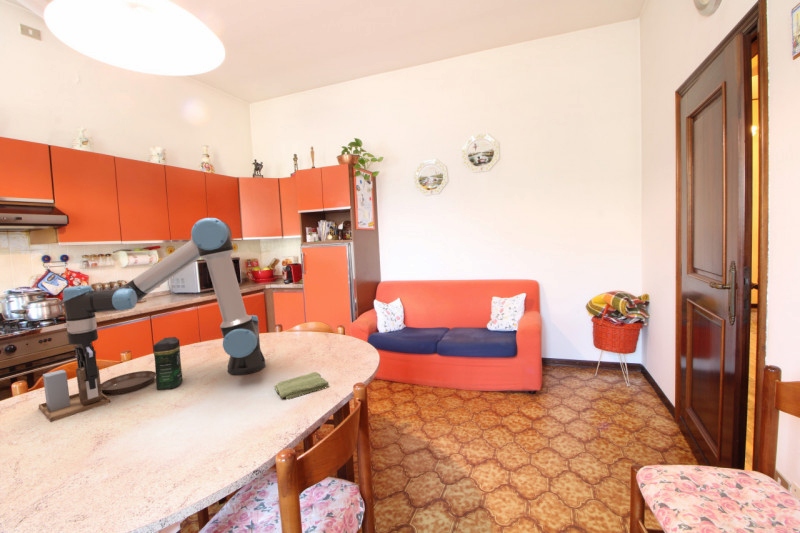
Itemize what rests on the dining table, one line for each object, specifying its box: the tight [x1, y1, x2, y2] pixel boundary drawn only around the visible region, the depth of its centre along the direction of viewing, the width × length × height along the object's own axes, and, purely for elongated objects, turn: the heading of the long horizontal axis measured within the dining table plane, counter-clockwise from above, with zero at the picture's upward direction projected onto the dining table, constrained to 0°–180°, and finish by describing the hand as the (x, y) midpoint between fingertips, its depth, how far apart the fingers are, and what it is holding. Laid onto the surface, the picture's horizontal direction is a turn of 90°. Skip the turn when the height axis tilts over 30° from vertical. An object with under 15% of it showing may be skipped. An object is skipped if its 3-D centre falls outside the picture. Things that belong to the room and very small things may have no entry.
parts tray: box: [38, 392, 112, 423], centre depth 120 cm, size 17×15×2 cm
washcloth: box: [274, 371, 329, 400], centre depth 128 cm, size 13×18×3 cm
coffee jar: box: [152, 336, 183, 391], centre depth 134 cm, size 10×8×19 cm
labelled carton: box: [75, 365, 103, 405], centre depth 121 cm, size 4×5×12 cm
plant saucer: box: [101, 370, 156, 395], centre depth 135 cm, size 18×18×3 cm
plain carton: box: [42, 369, 70, 412], centre depth 118 cm, size 4×5×12 cm
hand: (90, 395), depth 121 cm, fingers closed on labelled carton, 4 cm apart
